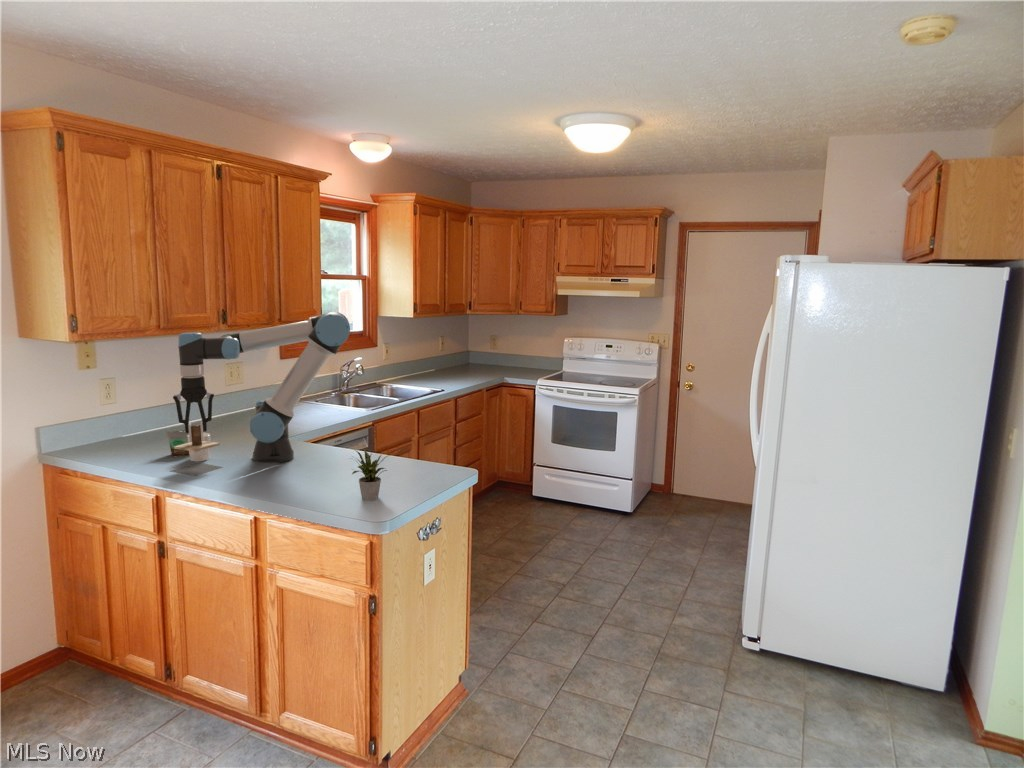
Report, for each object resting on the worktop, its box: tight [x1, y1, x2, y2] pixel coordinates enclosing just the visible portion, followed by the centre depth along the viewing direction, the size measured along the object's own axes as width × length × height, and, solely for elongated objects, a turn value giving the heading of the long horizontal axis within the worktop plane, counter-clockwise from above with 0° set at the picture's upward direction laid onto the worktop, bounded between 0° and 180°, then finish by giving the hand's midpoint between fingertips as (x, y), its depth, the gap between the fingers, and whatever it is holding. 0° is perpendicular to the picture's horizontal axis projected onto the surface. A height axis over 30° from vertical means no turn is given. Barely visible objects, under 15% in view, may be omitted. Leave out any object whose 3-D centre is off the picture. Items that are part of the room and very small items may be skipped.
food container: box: [166, 429, 190, 457], centre depth 256 cm, size 12×6×10 cm, turn 105°
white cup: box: [187, 432, 211, 462], centre depth 251 cm, size 8×8×10 cm
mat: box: [170, 462, 224, 477], centre depth 238 cm, size 13×13×1 cm
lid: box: [174, 424, 221, 452], centre depth 236 cm, size 10×10×8 cm
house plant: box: [350, 449, 391, 501], centre depth 212 cm, size 14×14×16 cm
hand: (196, 440), depth 236 cm, fingers closed on lid, 3 cm apart
